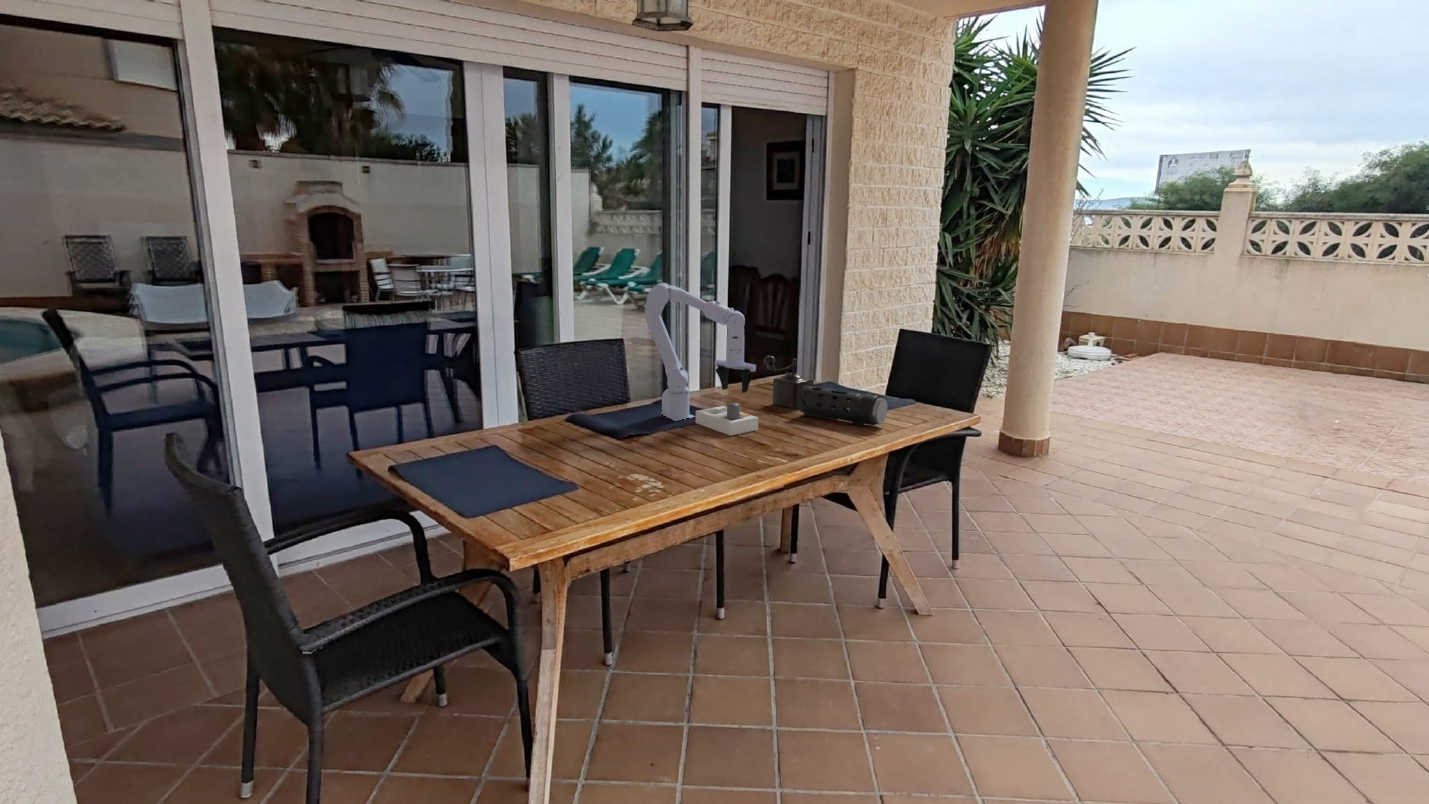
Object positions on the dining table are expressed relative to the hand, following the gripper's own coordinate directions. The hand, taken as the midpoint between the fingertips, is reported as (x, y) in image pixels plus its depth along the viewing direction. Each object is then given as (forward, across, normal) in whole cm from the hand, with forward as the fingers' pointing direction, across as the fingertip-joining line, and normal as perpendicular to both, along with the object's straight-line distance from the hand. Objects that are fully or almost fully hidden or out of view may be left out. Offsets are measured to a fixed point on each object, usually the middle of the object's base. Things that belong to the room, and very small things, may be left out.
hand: (734, 390), depth 248 cm
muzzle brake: (+10, +30, +17) cm, 36 cm away
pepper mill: (+10, +6, +26) cm, 28 cm away
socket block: (+9, +3, -10) cm, 14 cm away
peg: (+9, +7, -12) cm, 16 cm away
